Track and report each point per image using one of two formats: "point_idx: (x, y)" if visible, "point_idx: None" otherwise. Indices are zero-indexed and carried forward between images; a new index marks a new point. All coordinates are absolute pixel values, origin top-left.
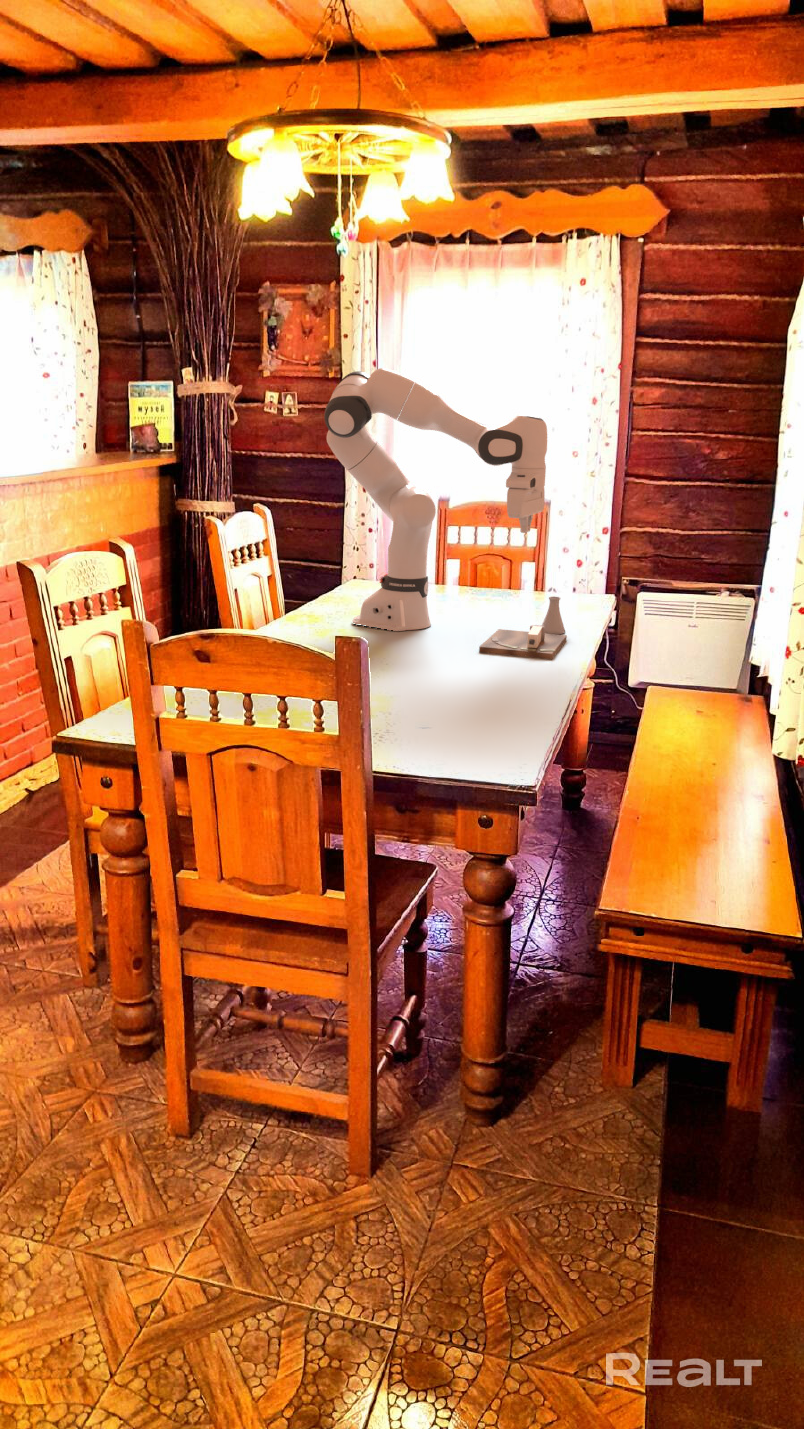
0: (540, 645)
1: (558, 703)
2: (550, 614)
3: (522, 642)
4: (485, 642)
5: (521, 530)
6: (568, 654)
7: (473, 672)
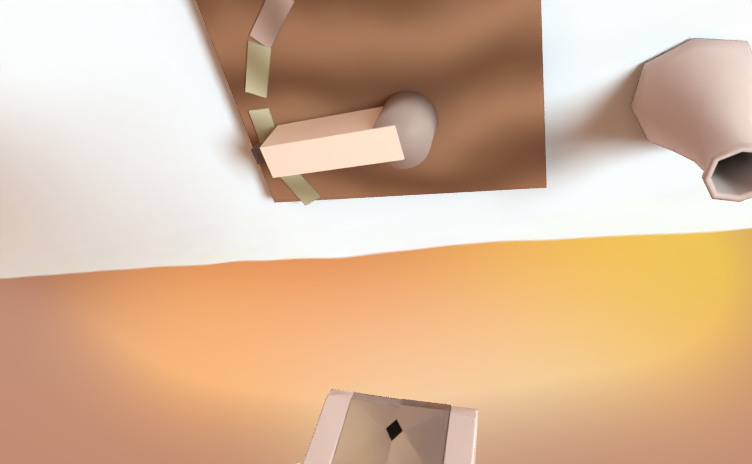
0: None
1: (18, 269)
2: (683, 125)
3: (345, 82)
4: None
5: (324, 412)
6: (365, 218)
7: (6, 48)
